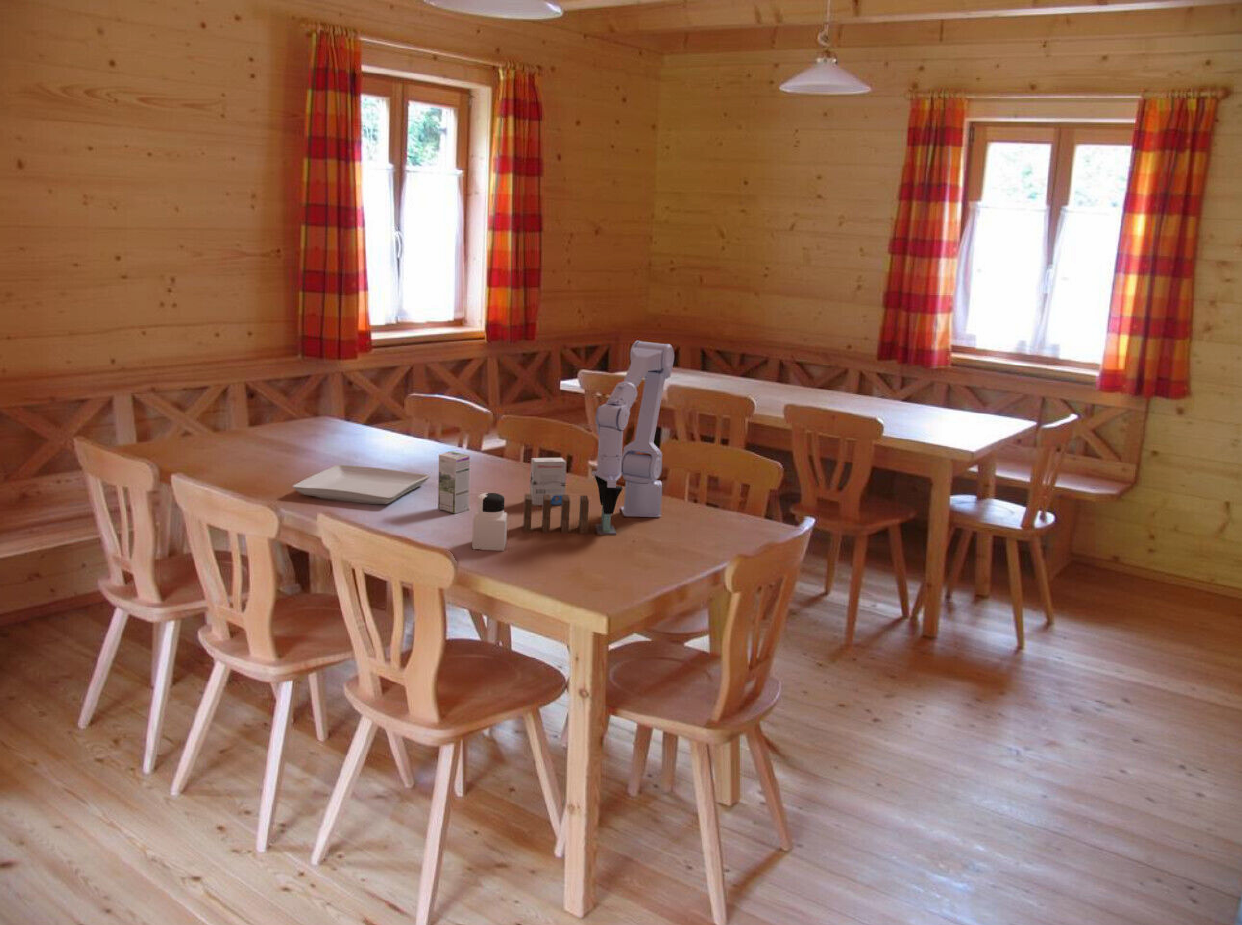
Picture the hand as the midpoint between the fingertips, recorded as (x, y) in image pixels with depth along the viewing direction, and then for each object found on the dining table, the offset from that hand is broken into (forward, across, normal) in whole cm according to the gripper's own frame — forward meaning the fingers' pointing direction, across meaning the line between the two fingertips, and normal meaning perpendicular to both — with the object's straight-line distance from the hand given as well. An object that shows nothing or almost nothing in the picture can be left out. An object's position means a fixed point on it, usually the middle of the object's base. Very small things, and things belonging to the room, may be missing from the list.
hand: (606, 509), depth 264 cm
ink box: (+6, -24, -13) cm, 28 cm away
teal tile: (+5, 0, 0) cm, 5 cm away
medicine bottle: (+6, +14, -28) cm, 32 cm away
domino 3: (+5, 0, -10) cm, 11 cm away
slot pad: (+5, 0, 0) cm, 5 cm away
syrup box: (+6, -15, -37) cm, 40 cm away
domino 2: (+5, 0, -14) cm, 15 cm away
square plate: (+6, -31, -61) cm, 69 cm away
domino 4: (+5, 0, -6) cm, 8 cm away
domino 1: (+5, 0, -19) cm, 20 cm away
